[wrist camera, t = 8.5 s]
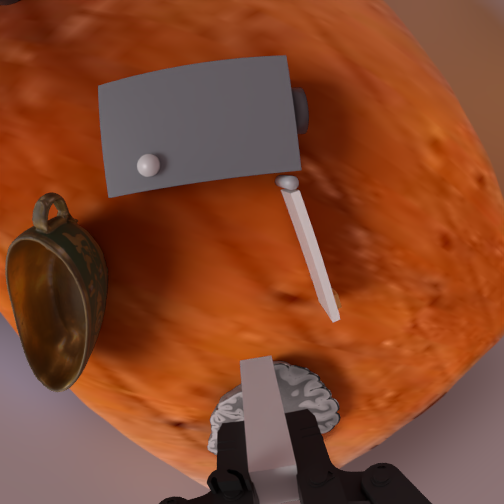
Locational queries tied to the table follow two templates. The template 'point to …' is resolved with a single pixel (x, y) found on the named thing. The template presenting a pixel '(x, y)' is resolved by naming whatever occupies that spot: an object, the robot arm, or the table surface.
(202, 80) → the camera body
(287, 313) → the table surface
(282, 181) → the door
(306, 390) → the brain slice
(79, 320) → the cup
